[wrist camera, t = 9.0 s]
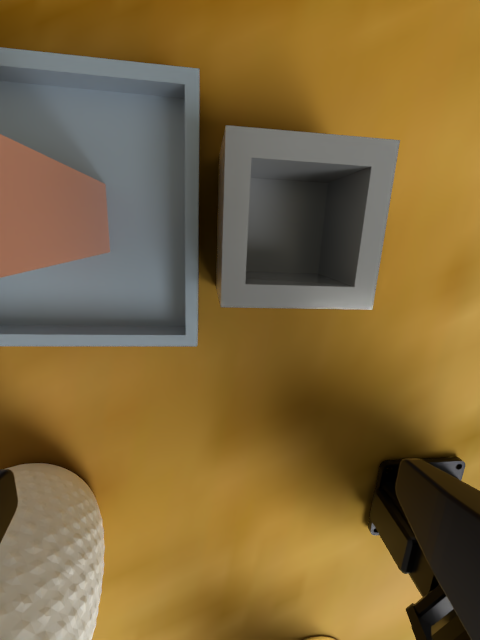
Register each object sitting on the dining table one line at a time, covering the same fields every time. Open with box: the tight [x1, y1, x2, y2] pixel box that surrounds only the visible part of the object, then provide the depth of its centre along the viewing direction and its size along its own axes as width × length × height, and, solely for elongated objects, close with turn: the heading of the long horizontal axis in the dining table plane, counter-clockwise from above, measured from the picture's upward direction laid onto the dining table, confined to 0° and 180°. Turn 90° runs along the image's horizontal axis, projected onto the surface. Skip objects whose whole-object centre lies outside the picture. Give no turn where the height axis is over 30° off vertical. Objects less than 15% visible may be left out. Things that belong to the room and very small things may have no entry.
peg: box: [0, 134, 110, 278], centre depth 10 cm, size 3×3×10 cm
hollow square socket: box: [216, 125, 400, 310], centre depth 15 cm, size 7×7×5 cm
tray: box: [0, 47, 200, 346], centre depth 15 cm, size 12×12×2 cm
